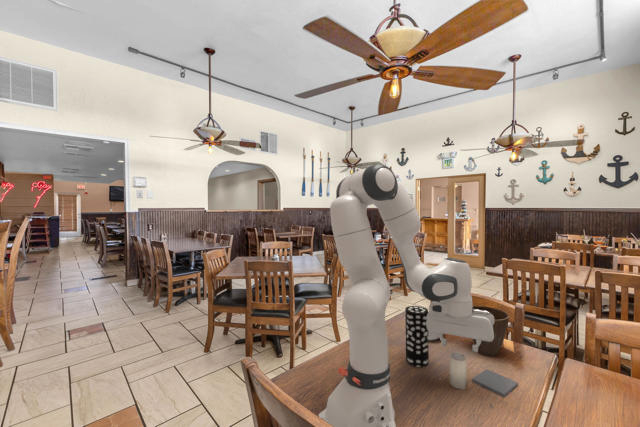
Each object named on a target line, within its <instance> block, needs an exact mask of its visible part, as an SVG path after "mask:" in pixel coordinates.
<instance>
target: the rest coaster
mask: <svg viewBox="0 0 640 427" xmlns="http://www.w3.org/2000/svg"><path fill="white" fill-rule="evenodd" d="M471 382H472V383H474V384H475V385H478V386H480V387H482V388H484V389H486V390H488V391H490V392H493V393H494V394H496V395H499V396H500V397H502V398H505V397H507V396H508V395H509V394H510V393H511V392H512V391H514V390H515V389H516V388H517V387H518V386H519V382H517V381H515V380H513V379H510V378H508V377H506V376H503V375H501V374H499V373H497V372H495V371H492V370H490V369H487V368H486V369H484V370H483V371H482V372H480V373H478V374H477V375H476V376H474V377H473V378H471Z"/></svg>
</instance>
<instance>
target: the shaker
mask: <svg viewBox="0 0 640 427" xmlns="http://www.w3.org/2000/svg"><path fill="white" fill-rule="evenodd" d="M449 385H450V386H451V387H453V388H455V389H458V390H464V389H466V388H467V358H466V356H465V354H464V353H461V352H457V351H456V352H452V353H451V354H450V355H449Z"/></svg>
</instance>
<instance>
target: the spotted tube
mask: <svg viewBox="0 0 640 427" xmlns="http://www.w3.org/2000/svg"><path fill="white" fill-rule="evenodd" d="M404 310H405V361H406V363H407V364H408V365H410V366H412V367H416V368H425V367H427V366H429V364H430V363H429V353H430V352H429V350H430V349H429V340H428V329H427V327H426V320H427V314H428V312H429V308H427V307H423V306H420V305H419V306H417V305H410V306H406V307H405V309H404Z"/></svg>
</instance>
